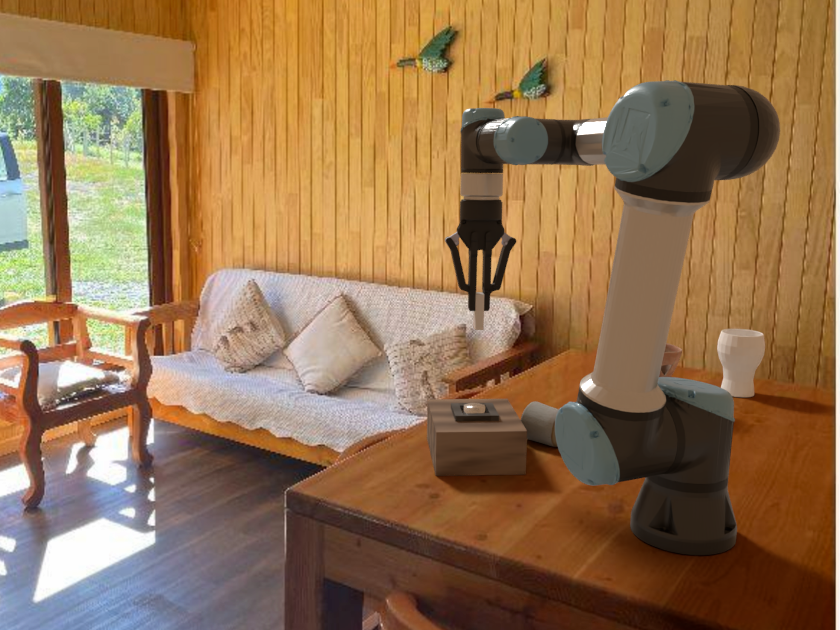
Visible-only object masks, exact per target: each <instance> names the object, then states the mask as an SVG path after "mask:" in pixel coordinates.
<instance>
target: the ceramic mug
mask: <svg viewBox="0 0 840 630" xmlns="http://www.w3.org/2000/svg"><path fill="white" fill-rule="evenodd" d="M559 409H560V408H556V407H553V406H550V405H547V404H544V403H542V402H539V401H531V402H530V403H529V404H527V405H526V407H525V408H524V409H523V412H522V414H521V417H520V420H521V422H522V423H523V425H524V427H525V428H526V430H527V440H528V441H529V440H530V441H532V442H535V443H540V444H543V445H546V446H550V447H554V448H558V446H557V442H556V436H555V419H556V415H557V413H558V411H559Z"/></svg>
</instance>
